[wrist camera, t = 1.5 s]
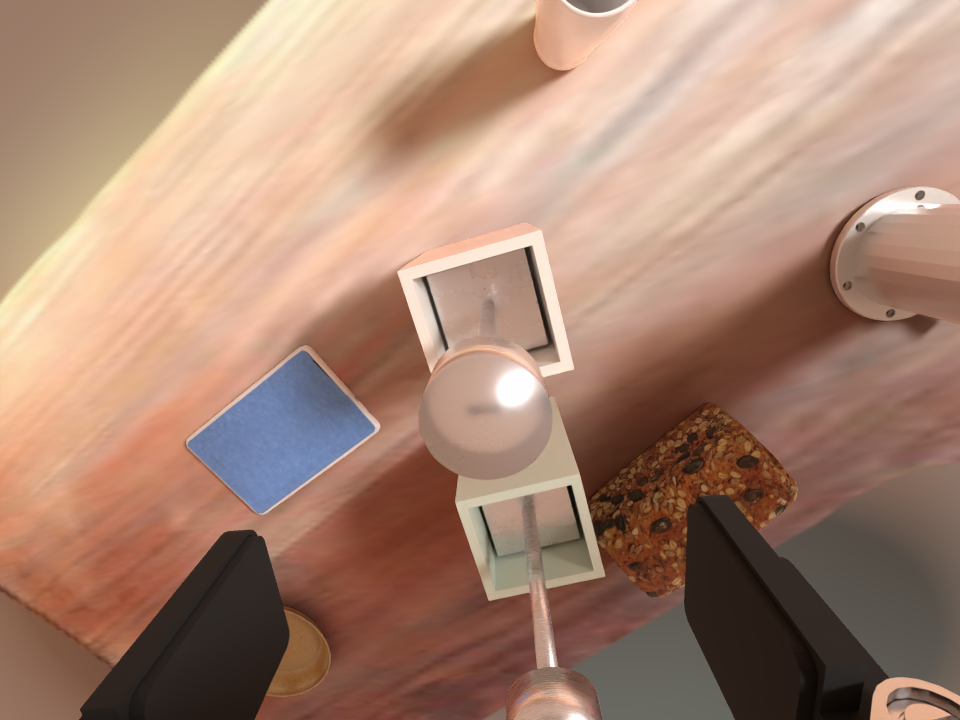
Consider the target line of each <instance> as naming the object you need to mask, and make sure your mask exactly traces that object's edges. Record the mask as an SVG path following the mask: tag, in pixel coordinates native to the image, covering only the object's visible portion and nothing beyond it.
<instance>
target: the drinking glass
mask: <svg viewBox="0 0 960 720" xmlns="http://www.w3.org/2000/svg"><path fill="white" fill-rule="evenodd" d="M637 2H638V0H536V13H535V27H534V45H535V49H536V52H537V54H538V56H539V57H540V59H541V60H542V61H543V62H544V63H545V64H546V65H547V66H549V67H550V68H553V69H556V70H562V71H563V70H570V69H573V68H575V67H577V66H579V65H580V64H581V63H583V62H584V61H585V60H586V59H587V57H588V56H589V55H590V53H591V52H592V51H593V50H594V49H595V48H596V47H597V46H598V45H599V44H601V43H602V42H603V41H604V40H605V39H606V38H607V37H608V36H609V35H610V34H611V33H612V32H613V31H614V30H616V29H617V28H618V26H619V25H620V24H621V23H622V22H623V21H624V20H625V19H626V17H627V16H628V15H629V13H630V12H631V11H632V9H633V8H634V6H635V5H636V3H637Z"/></svg>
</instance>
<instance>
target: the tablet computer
mask: <svg viewBox="0 0 960 720" xmlns="http://www.w3.org/2000/svg"><path fill="white" fill-rule="evenodd" d="M379 429H380V424H379V422H378V421H377V420H376V419H375V418H374V416H373V415H372V414H370V413H369V412H368V410H367V409H366V408H365V407H364V405H363V404H362V403H361V402H360V401H359V400H358V399H357V398H356V397H355V396H354V394H353V393H352V392H351V391H350V390H349V389H348V388H347V387H346V385H345V384H344V383H343V382H342V381H341V380H340V379H339V378H338V377H337V375H336V374H335V373H334V372H333V371H332V370H331V369H330V368H329V367H328V365H327V364H326V363H325V362H324V361H323V360H322V359H321V358H320V356H319V355H318V354H317V353H316V352H315V351H314V350H313V349H312V348H311V347H310V346H308V345H303V346H300V347H299V348H297V349H296V350H295V351H294V352H293V353H291V354H290V355H289V356H288V357H286V358H285V359H284V360H283V361H281V362H280V363H279V364H278V365H277V366H275V367H274V368H273V369H272V370H271V371H269V372H268V373H267V374H266V375H264V376H263V377H262V378H261V379H259V380H258V381H257V382H256V383H254V384H253V385H252V386H251V387H249V388H248V389H247V390H246V391H245V392H243V393H242V394H241V395H240V396H238V397H237V398H236V399H235V400H233V401H232V402H231V403H230V404H228V405H227V406H226V407H225V408H223V409H222V410H221V411H220V412H219V413H217V414H216V415H215V416H214V417H213V418H211V419H210V420H209V421H208V422H206V423H205V424H204V425H203V426H202V427H200V428H199V429H198V430H197V431H195V432H194V433H193V434H192V435H190V436H189V437H188V439H187V440H186V446H187V448H188V449H189V450H190V451H191V452H192V453H193V454H194V455H195V456H196V457H197V458H198V459H200V460H201V461H202V462H203V463H204V464H205V465H206V466H207V467H208V468H209V469H210V470H211V471H212V472H213V473H214V474H215V475H216V476H217V477H218V478H220V479H221V480H222V481H223V482H224V483H225V484H226V485H227V486H228V487H229V488H230V489H231V490H232V491H233V492H234V493H235V494H236V495H237V496H238V497H239V498H240V499H241V500H243V501H244V502H245V503H246V504H247V505H248V506H249V507H250V508H251V509H252V510H253V511H254V512H255V513H257V514H259V515H264V514H266V513H268V512H269V511H270V510H272V509H273V508H275V507H276V506H277V505H279V504H280V503H282V502H283V501H284V500H286V499H287V498H289V497H290V496H291V495H293V494H294V493H295V492H297V491H298V490H300V489H301V488H302V487H304V486H305V485H306V484H308V483H309V482H311V481H312V480H313V479H315V478H316V477H317V476H319V475H320V474H322V473H323V472H324V471H326V470H327V469H328V468H330V467H331V466H332V465H334V464H335V463H337V462H338V461H339V460H341V459H343V458H344V457H345V456H347V455H348V454H349V453H351V452H352V451H354V450H355V449H356V448H357V447H358V446H360V445H362V444H363V443H364V442H365V441H366V440H368V439H369V438H370V437H372V436H373V435H375V434H376V433H377V432H378V431H379Z"/></svg>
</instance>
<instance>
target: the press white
mask: <svg viewBox="0 0 960 720" xmlns="http://www.w3.org/2000/svg"><path fill="white" fill-rule="evenodd" d="M521 248H524V249H525V253H526V257H527V261H528V265H529V269H530V273H531V277H532V281H533V285H534V289H535V293H536V297H537V301H538V305H539V309H540V313H541V317H542V321H543V325H544V329H545V333H546V337H547V341H548V344H546V345H542V346H538V347H534V348H530V349H527V350H526V351H527V352H528V353H529V354H530V355H531V356H532V357H533V359H534V360H535V362H536V363H537V365H538V367H539V369H540V371H541V374H542V377H546V376H550V375H554V374H558V373H562V372H565V371H569V370H573V369H574V366H573V362H572V358H571V353H570V349H569V345H568V341H567V336H566V332H565V328H564V324H563V320H562V315H561V311H560V307H559V303H558V298H557V294H556V290H555V286H554V281H553V277H552V273H551V269H550V265H549V260H548V256H547V252H546V248H545V243H544V239H543V235H542V231H541V229H538V228H536V227H534V226H532V225H530V224H528V223H526V222H524V223H520V224H517V225H513V226H510V227H507V228H503V229H500V230H496V231H493V232H489V233H486V234H482V235H479V236H476V237H472V238H469V239H465V240H462V241H458V242H455V243H451V244H448V245H445V246H441V247H438V248H434V249H431V250H427V251H426V252H424V253H423V254H421V255H420V256H418V257H417V258H416V259H414V260H413V261H411V262H410V263H408V264H407V265H405V266H404V267H403V268H401V269H400V270H398V271H397V273H398V276H399V279H400V282H401V285H402V288H403V291H404V294H405V297H406V300H407V303H408V306H409V309H410V312H411V315H412V318H413V321H414V324H415V327H416V330H417V333H418V336H419V339H420V342H421V345H422V348H423V351H424V354H425V357H426V360H427V363H428V366H429V369H430V372H431V373H432V370H433V368H434V366H435V364H436V363H437V361H438V360H439V358H440V357H441V356H442V355H443V354H444V353H445V352H446V351H447V350H448V349H449V347H448V344H447V340H446V337H445V334H444V331H443V328H442V324H441V321H440V318H439V315H438V312H437V309H436V305H435V302H434V299H433V296H432V293H431V289H430V286H429V283H428V280H427V277H426V276H427V275H430V274H433V273H437V272H440V271H444V270H447V269H451V268H454V267H458V266H461V265H465V264H468V263H472V262H475V261H479V260H482V259H486V258H489V257H493V256H496V255H500V254H503V253H507V252H510V251H514V250H517V249H521Z"/></svg>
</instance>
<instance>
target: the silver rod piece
mask: <svg viewBox="0 0 960 720" xmlns="http://www.w3.org/2000/svg"><path fill="white" fill-rule="evenodd" d="M482 508H483V511H484V514H485V517H486V520H487V524H488V527H489V530H490V533H491V536H492V539H493V542H494V545H495V548H496V551H497V554H498V556H502V555H507V554H511V553H516V552H520V551H525V550H526V560H527V570H528V580H529V590H530V600H531V610H532V620H533V630H534V640H535V650H536V660H537V669H535V670H532V671H529V672H527V673H525V674H524V675H522V676H520V677H519V678H518V679H517V680H516V681H515V682H514V683H513V684H512V685H511V687H510V688H509V690H508V692H507V696H506V720H603V719H602V714H601V709H600V705H599V700H598V695H597V692H596V689H595V688H594V686H593V684H592V683H591V682H590V681H589V680H588V679H587V678H586V677H584V676H583V675H582V674H580V673H578V672H576V671H573V670H570V669H566V668H561V667H558V664H557V657H556V650H555V643H554V637H553V630H552V623H551V616H550V609H549V602H548V595H547V588H546V582H545V575H544V568H543V561H542V554H541V547H543V546H548V545H553V544H557V543H562V542H566V541H571V540H575V539H580V536H579V532H578V528H577V524H576V521H575V517H574V513H573V509H572V505H571V501H570V498H569V494H568V490H567V486H564V487H560V488H556V489H551V490H547V491H543V492H538V493H534V494H530V495H525V496H521V497H517V498H512V499H508V500H504V501H499V502H495V503H491V504H486V505H482Z"/></svg>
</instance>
